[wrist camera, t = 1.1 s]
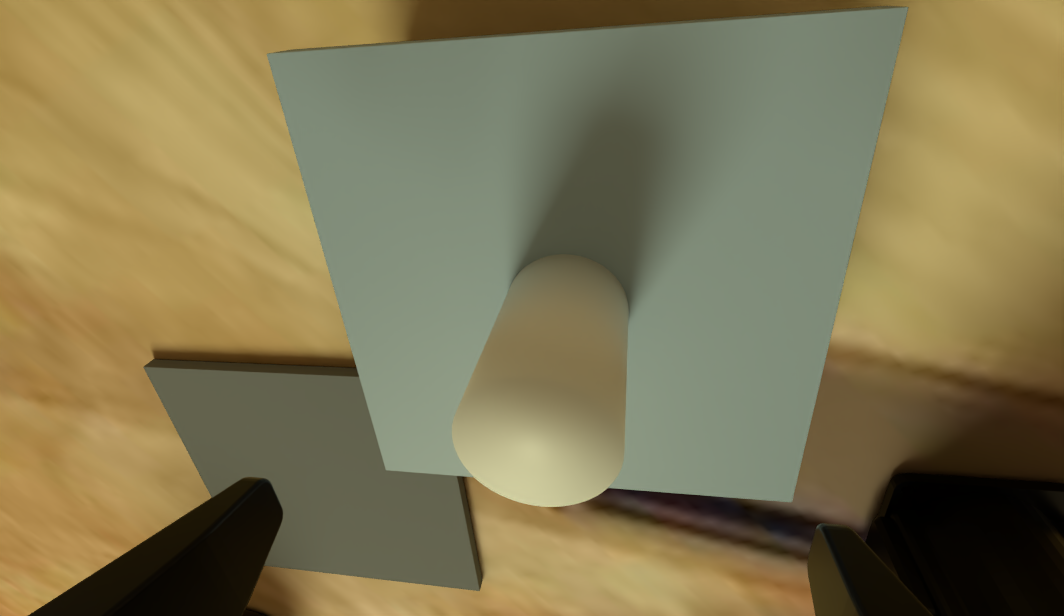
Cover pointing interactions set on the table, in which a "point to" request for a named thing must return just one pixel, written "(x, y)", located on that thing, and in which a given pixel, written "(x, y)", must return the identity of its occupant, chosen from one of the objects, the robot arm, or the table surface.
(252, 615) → the supplement bottle
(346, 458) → the mat
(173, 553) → the robot arm
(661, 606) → the table surface
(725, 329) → the lid
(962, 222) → the table surface
